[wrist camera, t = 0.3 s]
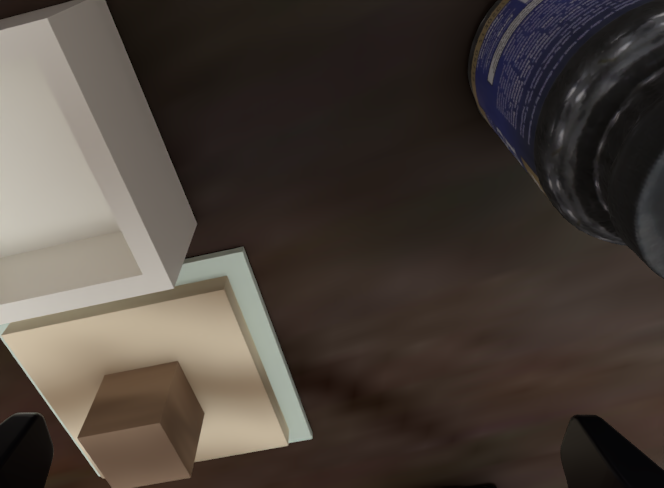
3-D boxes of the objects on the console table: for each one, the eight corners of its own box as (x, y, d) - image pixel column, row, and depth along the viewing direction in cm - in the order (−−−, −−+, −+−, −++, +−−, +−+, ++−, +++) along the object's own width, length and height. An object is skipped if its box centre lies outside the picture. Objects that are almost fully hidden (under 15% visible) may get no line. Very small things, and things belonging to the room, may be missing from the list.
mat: (312, 432, 30) (312, 438, 30) (101, 470, 31) (98, 476, 31) (243, 246, 24) (242, 251, 24) (-17, 302, 25) (-22, 307, 25)
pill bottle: (443, 121, 21) (545, 299, 12) (498, -60, 18) (696, -12, 9) (595, 149, 22) (803, 337, 13) (673, -20, 19) (1025, 64, 10)
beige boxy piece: (196, 224, 23) (173, 288, 19) (-4, 267, 24) (-64, 338, 20) (101, -8, 19) (47, 18, 15) (-143, 57, 20) (-254, 97, 16)
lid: (288, 429, 29) (285, 510, 26) (108, 462, 30) (78, 544, 26) (227, 275, 24) (210, 347, 20) (11, 320, 25) (-43, 397, 21)
